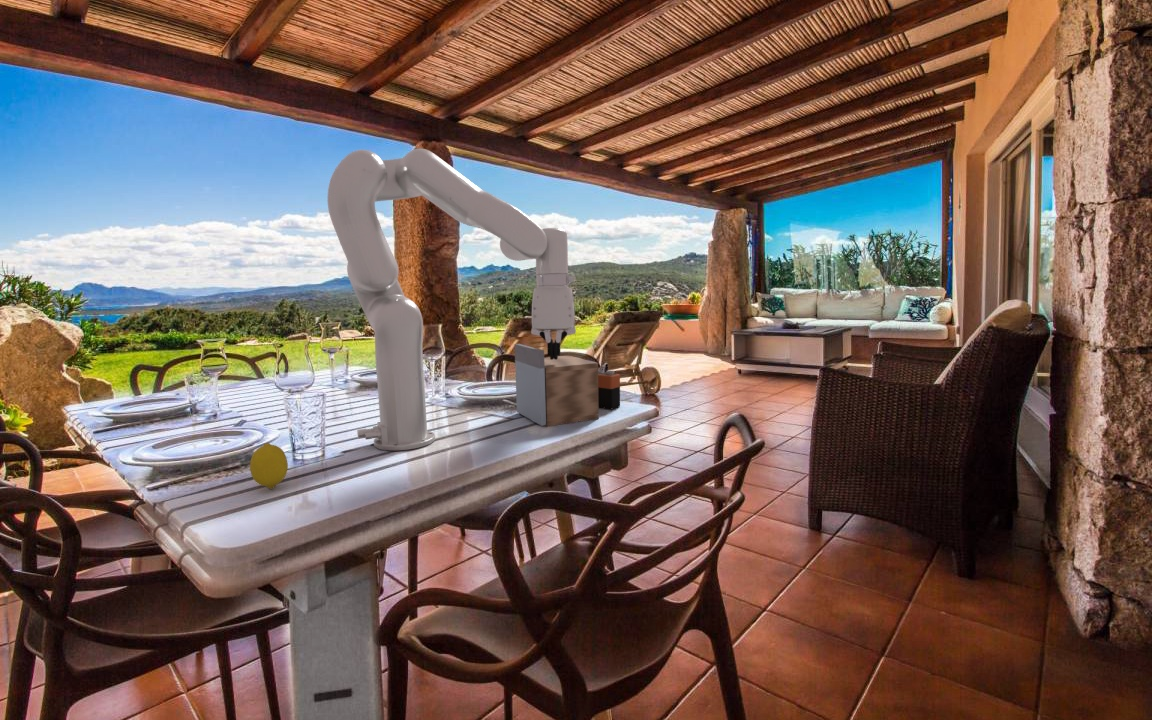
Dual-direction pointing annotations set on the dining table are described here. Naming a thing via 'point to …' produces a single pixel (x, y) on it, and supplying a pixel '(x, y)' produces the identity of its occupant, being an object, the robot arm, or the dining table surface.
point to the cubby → (570, 390)
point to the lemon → (268, 465)
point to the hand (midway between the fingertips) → (554, 358)
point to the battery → (608, 390)
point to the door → (530, 383)
